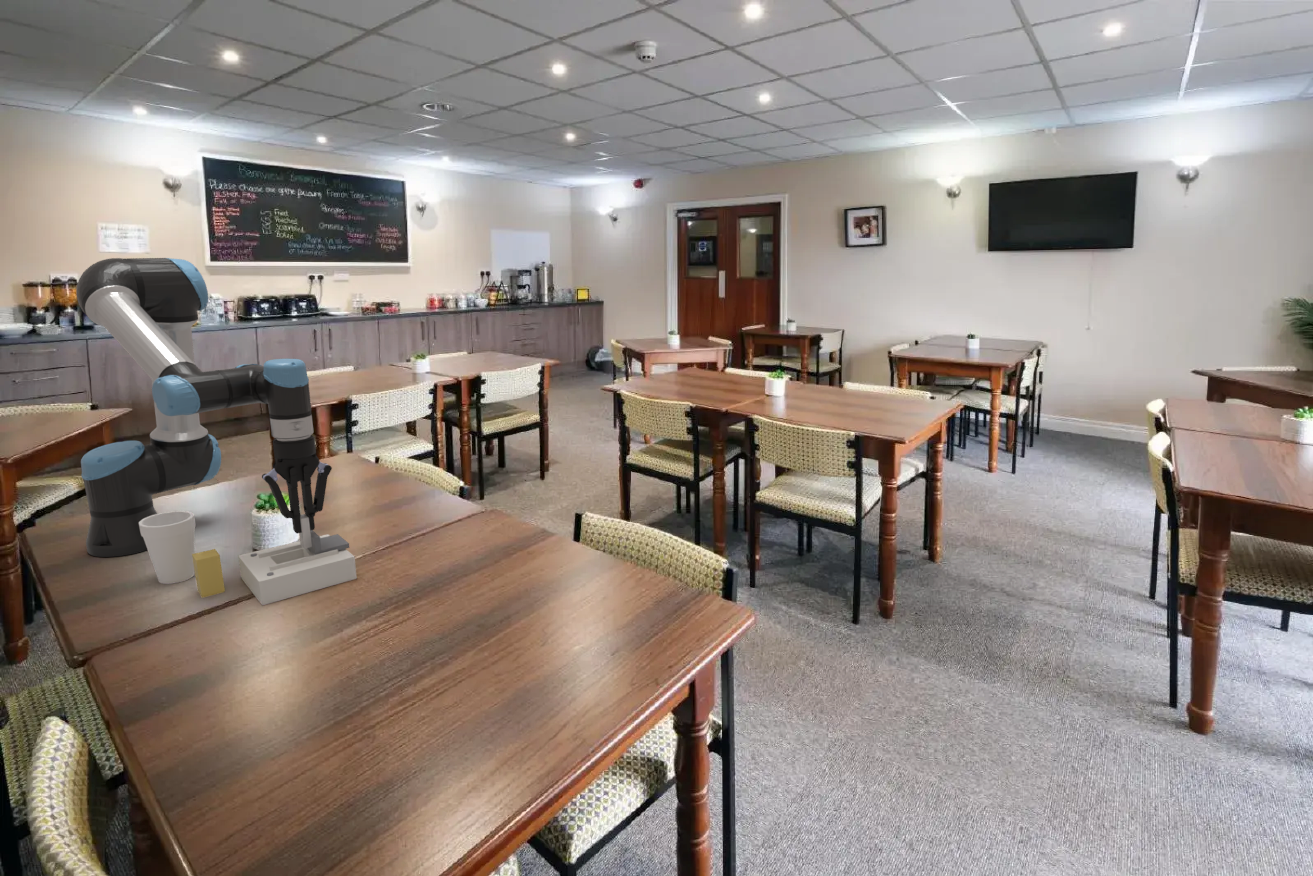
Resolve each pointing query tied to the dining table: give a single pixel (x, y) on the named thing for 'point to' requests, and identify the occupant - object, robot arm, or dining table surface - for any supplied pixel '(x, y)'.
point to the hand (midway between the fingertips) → (306, 545)
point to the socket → (294, 571)
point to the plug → (208, 573)
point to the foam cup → (170, 544)
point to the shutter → (327, 543)
